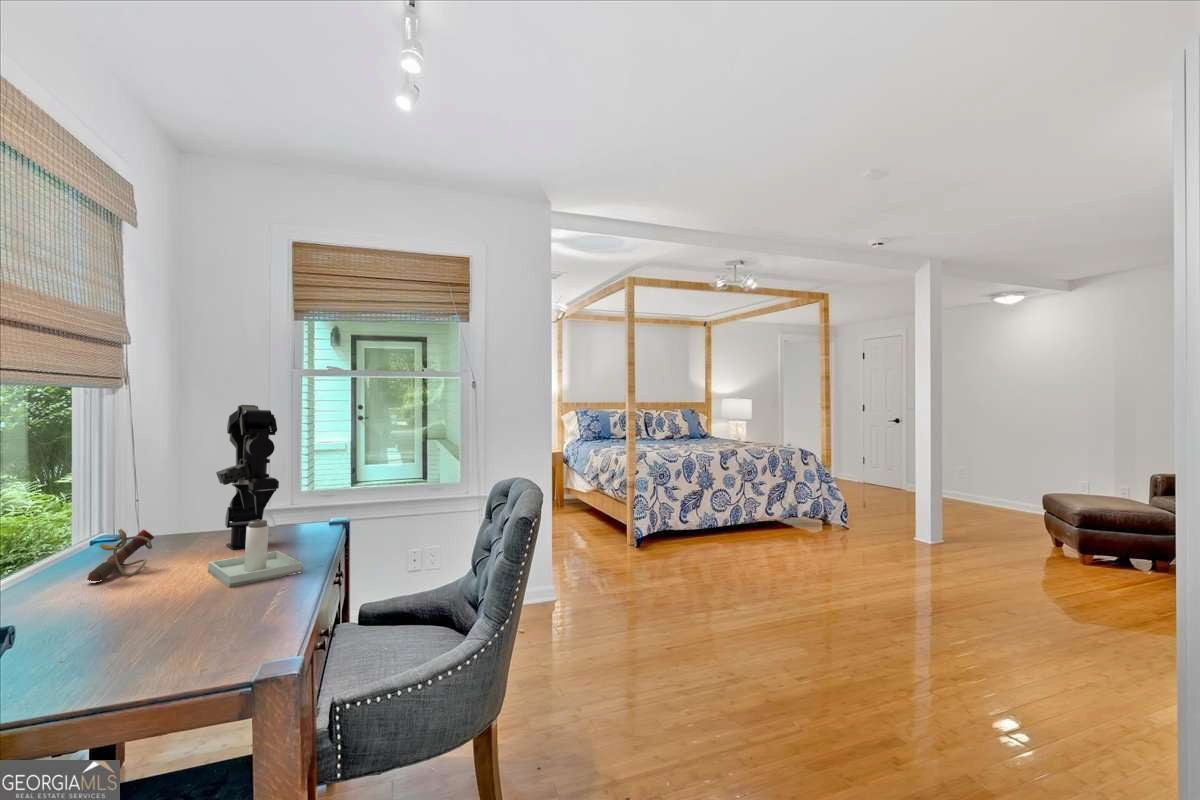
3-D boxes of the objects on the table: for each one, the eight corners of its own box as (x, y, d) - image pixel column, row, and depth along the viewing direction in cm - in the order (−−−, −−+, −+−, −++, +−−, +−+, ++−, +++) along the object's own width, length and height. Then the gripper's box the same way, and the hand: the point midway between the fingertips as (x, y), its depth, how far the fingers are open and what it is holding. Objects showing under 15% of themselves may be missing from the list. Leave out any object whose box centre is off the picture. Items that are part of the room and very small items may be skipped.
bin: (207, 571, 137) (208, 561, 137) (277, 559, 149) (277, 550, 149) (229, 587, 126) (229, 576, 126) (301, 572, 139) (302, 563, 139)
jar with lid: (239, 571, 136) (242, 522, 136) (254, 565, 140) (257, 518, 141) (256, 572, 135) (258, 524, 135) (270, 567, 140) (273, 520, 140)
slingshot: (51, 584, 123) (98, 548, 137) (91, 611, 127) (134, 573, 141) (103, 541, 122) (146, 508, 136) (143, 569, 125) (181, 535, 140)
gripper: (209, 453, 148) (206, 510, 148) (233, 459, 136) (229, 521, 136) (255, 452, 157) (252, 505, 157) (281, 457, 145) (278, 516, 145)
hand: (252, 512), depth 148 cm, fingers open, 9 cm apart
